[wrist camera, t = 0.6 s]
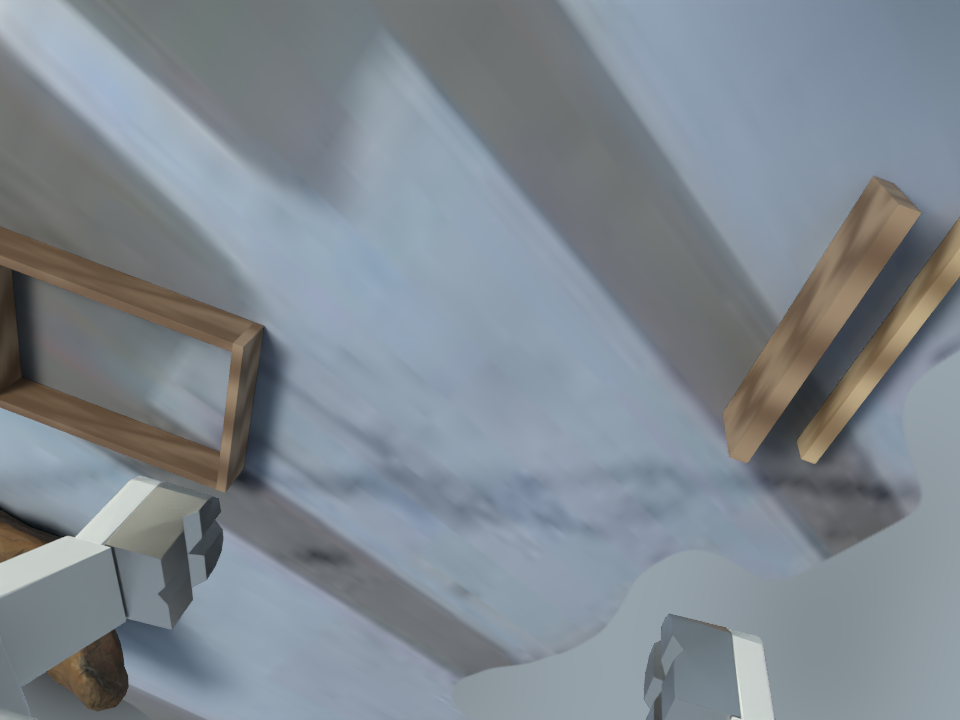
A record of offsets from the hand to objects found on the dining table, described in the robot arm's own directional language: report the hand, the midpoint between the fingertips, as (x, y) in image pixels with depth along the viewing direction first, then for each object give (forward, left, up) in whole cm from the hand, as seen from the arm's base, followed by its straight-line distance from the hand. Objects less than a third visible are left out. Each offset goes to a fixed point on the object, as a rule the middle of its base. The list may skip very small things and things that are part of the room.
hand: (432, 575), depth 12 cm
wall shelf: (+10, +24, -44) cm, 51 cm away
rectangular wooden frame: (+39, -35, -44) cm, 69 cm away
